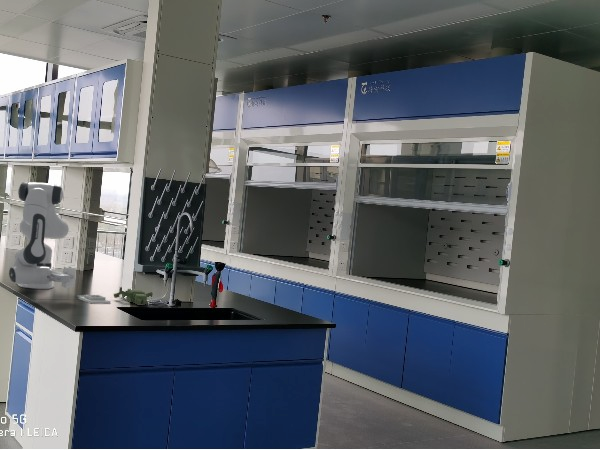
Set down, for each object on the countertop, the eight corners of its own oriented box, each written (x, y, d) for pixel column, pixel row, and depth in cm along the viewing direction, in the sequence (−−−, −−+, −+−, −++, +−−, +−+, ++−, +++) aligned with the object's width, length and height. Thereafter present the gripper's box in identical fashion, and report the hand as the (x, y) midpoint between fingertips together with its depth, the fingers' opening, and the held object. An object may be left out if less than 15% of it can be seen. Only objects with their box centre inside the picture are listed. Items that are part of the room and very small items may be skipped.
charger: (61, 286, 347) (63, 266, 347) (70, 286, 351) (72, 266, 350) (65, 287, 344) (67, 267, 344) (73, 287, 347) (76, 267, 347)
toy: (107, 296, 380) (121, 308, 354) (109, 282, 379) (123, 294, 353) (144, 297, 390) (160, 310, 364) (145, 285, 390) (162, 296, 364)
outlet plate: (78, 299, 359) (79, 293, 359) (97, 299, 366) (98, 294, 366) (90, 303, 349) (91, 298, 349) (110, 303, 356) (110, 298, 356)
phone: (76, 296, 366) (76, 295, 366) (87, 296, 371) (87, 294, 371) (92, 301, 357) (92, 299, 357) (103, 300, 363) (103, 299, 363)
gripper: (53, 272, 331) (80, 273, 340) (36, 266, 346) (62, 267, 355) (51, 285, 331) (78, 285, 340) (35, 278, 346) (61, 279, 355)
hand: (70, 276), depth 348 cm, fingers closed on charger, 4 cm apart
